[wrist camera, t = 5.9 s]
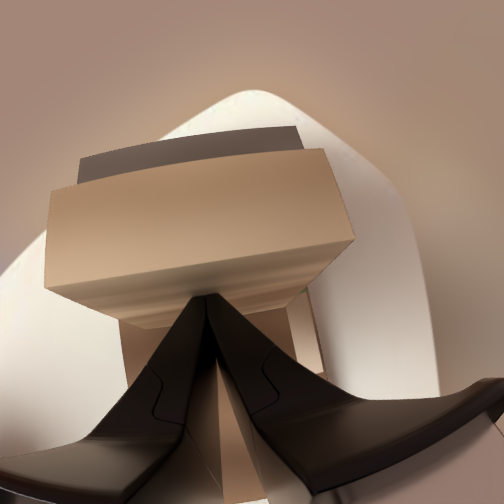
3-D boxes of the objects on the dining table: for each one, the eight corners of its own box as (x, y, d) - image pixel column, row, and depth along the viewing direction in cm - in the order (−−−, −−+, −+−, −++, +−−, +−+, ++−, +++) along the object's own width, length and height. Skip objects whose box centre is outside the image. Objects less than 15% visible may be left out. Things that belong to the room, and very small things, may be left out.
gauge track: (337, 470, 13) (397, 521, 6) (164, 500, 12) (133, 568, 5) (280, 205, 18) (306, 125, 12) (119, 230, 17) (70, 161, 10)
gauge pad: (314, 301, 15) (409, 229, 7) (145, 329, 14) (44, 287, 5) (302, 255, 16) (374, 147, 7) (140, 281, 15) (51, 191, 6)
